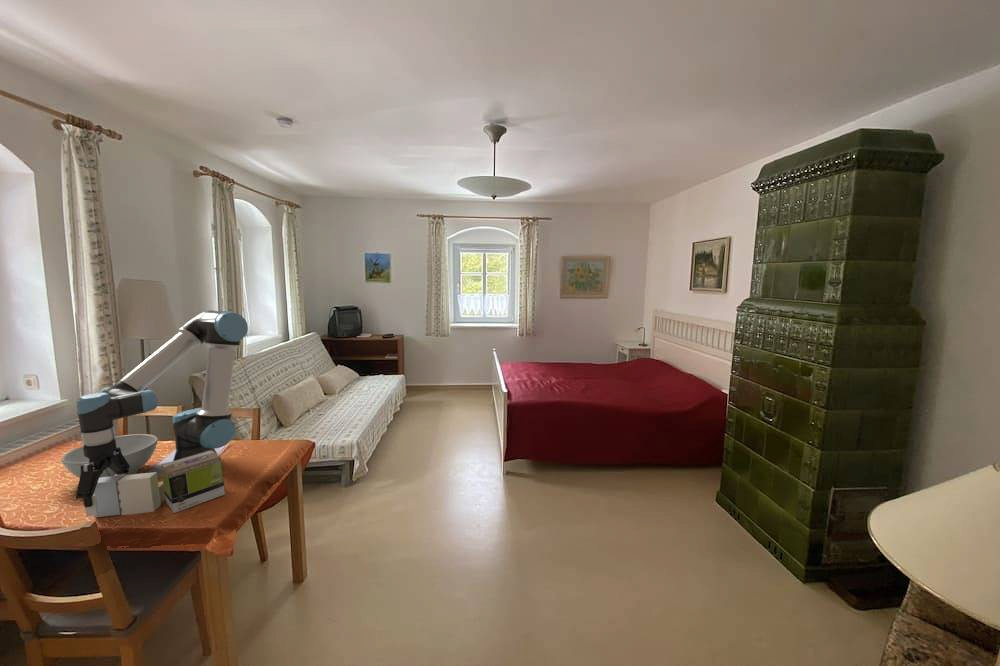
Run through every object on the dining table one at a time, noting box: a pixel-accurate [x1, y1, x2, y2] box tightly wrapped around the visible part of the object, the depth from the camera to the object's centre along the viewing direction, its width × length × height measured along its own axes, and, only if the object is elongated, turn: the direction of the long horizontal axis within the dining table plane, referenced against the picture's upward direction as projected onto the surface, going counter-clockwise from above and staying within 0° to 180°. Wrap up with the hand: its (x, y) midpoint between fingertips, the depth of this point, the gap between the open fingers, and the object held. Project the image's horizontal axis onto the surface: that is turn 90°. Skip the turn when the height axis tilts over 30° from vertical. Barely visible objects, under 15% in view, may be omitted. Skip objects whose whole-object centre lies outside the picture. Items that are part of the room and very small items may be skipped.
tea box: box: [160, 450, 226, 514], centre depth 139 cm, size 15×10×15 cm, turn 141°
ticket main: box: [117, 471, 166, 516], centre depth 135 cm, size 9×9×12 cm
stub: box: [93, 475, 124, 519], centre depth 131 cm, size 4×7×12 cm, turn 104°
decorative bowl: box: [60, 433, 159, 479], centre depth 155 cm, size 27×27×12 cm
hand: (108, 503), depth 131 cm, fingers open, 13 cm apart
